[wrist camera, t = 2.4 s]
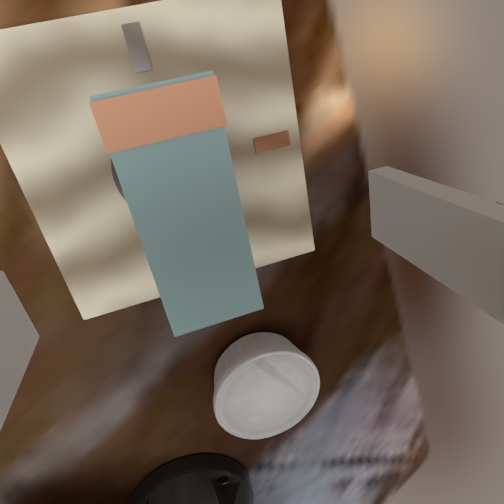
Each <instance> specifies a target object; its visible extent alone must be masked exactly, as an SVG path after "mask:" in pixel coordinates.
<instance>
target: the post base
mask: <svg viewBox="0 0 504 504" xmlns="http://www.w3.org/2000/svg"><path fill="white" fill-rule="evenodd" d="M211 70H212V71H213V75H217V80H218V85H219V90H220V94H221V99H222V104H223V108H224V113H225V118H226V122H227V126H225V131H226V135H227V140H228V145H229V149H230V154H231V158H232V163H233V168H234V172H235V177H236V182H237V186H238V191H239V195H240V200H241V205H242V209H243V214H244V219H245V223H246V228H247V232H248V237H249V242H250V246H251V251H252V255H253V260H254V265H255V268H258V267H261V266H265V265H268V264H271V263H275V262H278V261H281V260H285V259H288V258H291V257H295V256H298V255H301V254H304V253H308V252H311V251H314V250H315V247H314V240H313V232H312V225H311V218H310V210H309V203H308V195H307V188H306V181H305V173H304V166H303V158H302V151H301V144H300V136H299V129H298V121H297V114H296V107H295V99H294V92H293V84H292V77H291V70H290V62H289V55H288V47H287V40H286V33H285V25H284V18H283V10H282V3H281V0H161V1H155V2H150V3H144V4H139V5H133V6H128V7H122V8H116V9H111V10H105V11H100V12H94V13H89V14H83V15H78V16H72V17H67V18H61V19H56V20H50V21H45V22H39V23H33V24H28V25H22V26H17V27H11V28H6V29H0V144H1V146H2V149H3V151H4V153H5V155H6V157H7V159H8V161H9V163H10V165H11V168H12V170H13V172H14V174H15V176H16V178H17V180H18V182H19V184H20V187H21V189H22V191H23V193H24V195H25V197H26V199H27V201H28V204H29V206H30V208H31V210H32V212H33V214H34V216H35V218H36V220H37V223H38V225H39V227H40V229H41V231H42V233H43V235H44V237H45V239H46V242H47V244H48V246H49V248H50V250H51V252H52V254H53V256H54V258H55V261H56V263H57V265H58V267H59V269H60V271H61V273H62V275H63V278H64V280H65V282H66V284H67V286H68V288H69V290H70V292H71V294H72V297H73V299H74V301H75V303H76V305H77V307H78V309H79V311H80V313H81V316H82V318H83V320H86V319H90V318H93V317H96V316H99V315H103V314H106V313H109V312H113V311H116V310H119V309H123V308H126V307H129V306H133V305H136V304H139V303H142V302H146V301H149V300H152V299H156V298H159V297H160V294H159V292H158V289H157V286H156V283H155V280H154V277H153V275H152V272H151V269H150V266H149V263H148V260H147V258H146V255H145V252H144V249H143V246H142V243H141V241H140V238H139V235H138V232H137V229H136V226H135V224H134V221H133V218H132V215H131V212H130V210H129V207H128V204H127V202H126V200H125V198H124V195H123V191H122V187H121V184H120V181H119V178H118V176H117V173H116V170H115V167H114V164H113V161H112V159H111V156H110V153H109V154H107V152H106V149H105V146H104V143H103V141H102V138H101V135H100V132H99V129H98V127H97V124H96V121H95V118H94V115H93V113H92V110H91V107H90V104H89V102H91V99H90V96H94V95H99V94H103V93H108V92H113V91H117V90H122V89H127V88H131V87H136V86H141V85H145V84H150V83H155V82H159V81H164V80H169V79H173V78H178V77H183V76H187V75H192V74H197V73H201V72H206V71H211Z"/></svg>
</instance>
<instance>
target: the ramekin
mask: <svg viewBox="0 0 504 504" xmlns="http://www.w3.org/2000/svg"><path fill="white" fill-rule="evenodd" d="M319 388H320V377H319V373H318V370H317V368H316V366H315V364H314V363H313V362H312V360H311V359H310V358H309V357H308V356H307V355H306V354H304V353H303V352H301V351H300V350H299V349H298V348H297V347H296V346H295V345H294V344H292V343H291V342H290V341H289V340H288V339H287V338H285V337H283V336H282V335H278V334H276V333H271V332H259V333H252V334H249V335H246V336H244V337H242V338H240V339H238V340H236V341H235V342H234V343H232V344H231V345H230V346H229V347H228V348H227V349H226V350H225V351H224V353H223V354H222V355H221V357H220V358H219V360H218V362H217V364H216V368H215V374H214V396H213V408H214V412H215V416H216V419H217V421H218V423H219V424H220V426H221V427H222V428H223V429H224V430H226V431H227V432H229V433H230V434H232V435H234V436H237V437H240V438H244V439H262V438H267V437H271V436H274V435H277V434H279V433H282V432H284V431H286V430H288V429H289V428H291V427H292V426H294V425H295V424H297V423H298V422H299V421H300V420H301V419H302V418H303V417H304V416H305V415H306V414H307V413H308V412H309V411H310V410H311V408H312V407H313V405H314V403H315V401H316V399H317V396H318V393H319Z"/></svg>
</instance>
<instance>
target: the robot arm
mask: <svg viewBox="0 0 504 504" xmlns="http://www.w3.org/2000/svg"><path fill="white" fill-rule="evenodd" d="M368 177H369V195H370V213H371V230H372V237H373V238H375V239H376V240H378V241H379V242H381V243H382V244H384V245H385V246H387V247H388V248H390V249H391V250H393V251H394V252H396V253H397V254H399V255H400V256H402V257H403V258H405V259H406V260H408V261H409V262H411V263H412V264H414V265H415V266H417V267H418V268H420V269H421V270H423V271H424V272H426V273H427V274H429V275H430V276H432V277H433V278H435V279H436V280H438V281H439V282H441V283H443V284H444V285H446V286H447V287H449V288H450V289H452V290H453V291H455V292H456V293H458V294H459V295H461V296H462V297H464V298H465V299H467V300H468V301H470V302H471V303H473V304H474V305H476V306H477V307H479V308H480V309H482V310H483V311H485V312H486V313H488V314H489V315H491V316H492V317H494V318H495V319H497V320H498V321H500V322H501V323H503V324H504V204H501V203H498V202H493V201H491V200H487V199H484V198H481V197H478V196H475V195H472V194H469V193H466V192H463V191H460V190H457V189H454V188H451V187H448V186H445V185H442V184H439V183H436V182H433V181H430V180H427V179H424V178H421V177H418V176H415V175H412V174H409V173H406V172H403V171H400V170H397V169H394V168H391V167H388V166H385V167H381V168H377V169H373V170H370V171H368ZM39 337H40V336H39V335H38V333H37V331H36V329H35V327H34V326H33V324H32V322H31V320H30V318H29V317H28V315H27V313H26V311H25V309H24V308H23V306H22V304H21V302H20V300H19V299H18V297H17V295H16V293H15V291H14V290H13V288H12V286H11V284H10V282H9V281H8V279H7V277H6V275H5V273H4V271H3V270H2V271H0V431H1V428H2V426H3V424H4V421H5V419H6V416H7V414H8V412H9V409H10V407H11V404H12V402H13V400H14V397H15V395H16V392H17V390H18V387H19V385H20V383H21V380H22V378H23V375H24V373H25V371H26V368H27V366H28V363H29V361H30V359H31V356H32V354H33V351H34V349H35V347H36V344H37V342H38V339H39ZM130 504H253V491H252V487H251V484H250V480H249V476H248V474H247V472H246V470H245V469H244V467H243V466H242V465H241V464H239V463H238V462H237V461H235V460H233V459H231V458H229V457H226V456H222V455H216V454H198V455H191V456H187V457H183V458H180V459H177V460H174V461H171V462H169V463H167V464H165V465H163V466H161V467H160V468H158V469H156V470H155V471H153V472H152V473H151V474H150V475H148V476H147V477H146V478H145V479H144V480H143V481H142V482H141V483H140V484H139V486H138V487H137V488H136V490H135V492H134V493H133V496H132V498H131V501H130Z"/></svg>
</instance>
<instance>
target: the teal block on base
mask: <svg viewBox="0 0 504 504" xmlns="http://www.w3.org/2000/svg"><path fill="white" fill-rule="evenodd" d="M90 99H91V102H89V104H90V107H91V110H92V113H93V115H94V118H95V121H96V124H97V127H98V129H99V132H100V135H101V138H102V141H103V143H104V146H105V149H106V152H107V154H109V153H110V156H111V159H112V161H113V164H114V167H115V170H116V173H117V176H118V178H119V181H120V184H121V187H122V191H123V195H124V198H125V200H126V202H127V204H128V207H129V210H130V212H131V215H132V218H133V221H134V224H135V226H136V229H137V232H138V235H139V238H140V241H141V243H142V246H143V249H144V252H145V255H146V258H147V260H148V263H149V266H150V269H151V272H152V275H153V277H154V280H155V283H156V286H157V289H158V292H159V294H160V297H161V300H162V303H163V306H164V308H165V311H166V314H167V317H168V320H169V323H170V325H171V328H172V331H173V334H174V337H177V336H180V335H183V334H186V333H189V332H192V331H195V330H198V329H202V328H205V327H208V326H211V325H214V324H217V323H220V322H223V321H226V320H230V319H233V318H236V317H239V316H242V315H245V314H248V313H251V312H254V311H258V310H261V309H264V306H263V302H262V297H261V292H260V288H259V283H258V279H257V274H256V269H255V265H254V260H253V255H252V251H251V246H250V242H249V237H248V232H247V228H246V223H245V219H244V214H243V209H242V205H241V200H240V195H239V191H238V186H237V182H236V177H235V172H234V168H233V163H232V158H231V154H230V149H229V145H228V140H227V135H226V131H225V126H227V122H226V118H225V113H224V108H223V104H222V99H221V94H220V90H219V85H218V80H217V75H213V71H212V70H211V71H206V72H201V73H197V74H192V75H187V76H183V77H178V78H173V79H169V80H164V81H159V82H155V83H150V84H145V85H141V86H136V87H131V88H127V89H122V90H117V91H113V92H108V93H103V94H99V95H94V96H90Z"/></svg>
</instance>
